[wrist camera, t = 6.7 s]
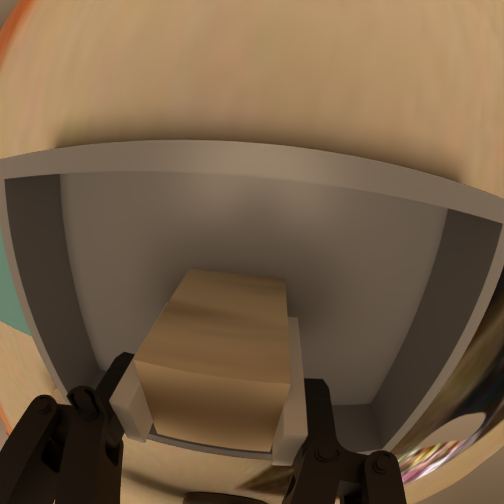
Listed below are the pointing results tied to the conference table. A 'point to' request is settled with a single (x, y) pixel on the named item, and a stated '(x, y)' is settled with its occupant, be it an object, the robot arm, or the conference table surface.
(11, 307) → the teal mat
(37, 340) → the crate
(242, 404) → the maple block
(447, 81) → the conference table surface
